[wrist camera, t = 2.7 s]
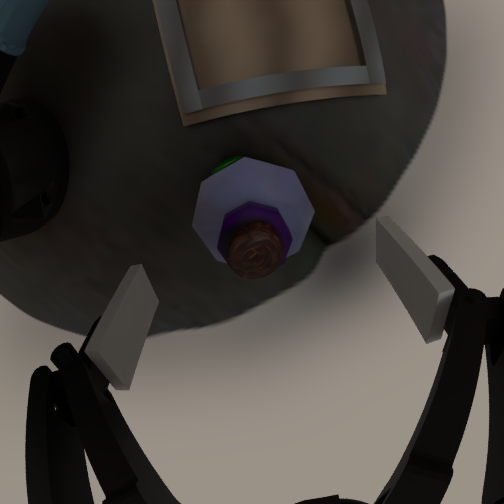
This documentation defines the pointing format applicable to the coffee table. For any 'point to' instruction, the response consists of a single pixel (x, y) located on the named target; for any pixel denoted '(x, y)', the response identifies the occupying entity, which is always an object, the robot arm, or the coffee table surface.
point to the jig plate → (266, 53)
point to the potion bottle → (252, 215)
